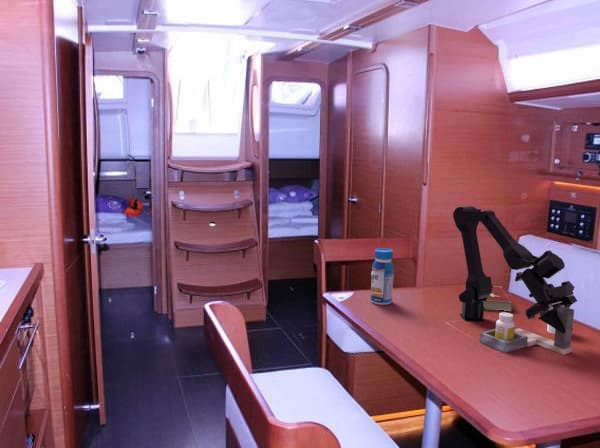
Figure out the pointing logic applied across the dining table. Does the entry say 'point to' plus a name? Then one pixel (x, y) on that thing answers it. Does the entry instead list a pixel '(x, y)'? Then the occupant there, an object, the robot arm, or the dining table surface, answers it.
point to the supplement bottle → (505, 327)
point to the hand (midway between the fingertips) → (568, 332)
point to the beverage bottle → (382, 277)
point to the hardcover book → (498, 300)
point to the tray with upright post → (535, 337)
